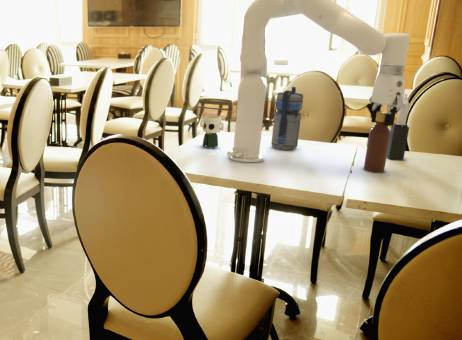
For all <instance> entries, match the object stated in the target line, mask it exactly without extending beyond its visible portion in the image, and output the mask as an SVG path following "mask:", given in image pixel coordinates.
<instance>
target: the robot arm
mask: <svg viewBox="0 0 462 340" xmlns="http://www.w3.org/2000/svg"><path fill="white" fill-rule="evenodd" d="M301 14H302V15H303V16H305V17H306V18H307V19H309V20H311V22H314V23H315V24H316V25H318V26H319V27H321V28H322V29H323V30H325V31H327V32H328V33H330V34H332V35H335V36H338V37H340V38H341V39H343V40H345V41H346V42H347V43H349V44H351V45H352V46H354V48H356V49H357V51H358V52H359V53H361V54H363V55H366V56H376V55H377V56H378V55H379V54H380V58H379V64H378V72H377V75H376V77H375V80H374V84H373V88H372V93H371V96H370V97H369V98H368V101H369V103H370V106H371V111H372V115H371V119H370V120H371V122H370V123H376V122H378V121H376V114H377V112H378V111H382V109H383V107H384V106H386V110H387V111H386V112H387V113H388V114H386V116H385V122H384V125H385V126H388V127H392V126H393V125H394V123H395V119H396V115H398V112H399V110H400V109H401V108H402V107H403V106H404V104H403V100H404V97H405V94H406V93H405V91H406V76H405V75H404V73H405V71H406V70H405V68H406V62H407V56H408V50H409V45H410V39H411V37H410V36H411V35H410V34H408V33H405V32H388V33H382V32H381V31H378V30H377V29H376V28H374V27H373V26H372V25H370V24H369V23H367V22H365V21H364V20H362V19H360V18H359V17H357V16H355V14H353V13H351V12H350V11H349V10H347V9H346V8H344V7H342V6H341V5H340V4H339V3H337V2H335V1H334V0H254V1H252V3H251V4H250V5H249V6H248V8H247V9H246V11H245V13H244V15H243V19H242V26H241V44H240V45H241V46H240V47H241V48H240V56H239V61H240V82H239V85H238V88H237V89H238V90H237V105H236V114H235V117H236V118H235V129H234V137H233V138H234V139H233V147H232V150H230V151H227V152H226V156H227V157H228V158H229V159H230V160H232V161H236V162H241V163H259V162H263V160H264V156H263V155H261V154H260V151H261V142H262V141H261V140H262V132H263V121H264V112H265V102H266V95H267V80H268V79H267V73H268V51H267V34H268V24H269V22H270V20H272V19H276V18H277V19H279V18H283V17H284V18H285V17H290V16H296V15H301Z"/></svg>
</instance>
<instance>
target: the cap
mask: <svg viewBox="0 0 462 340" xmlns="http://www.w3.org/2000/svg"><path fill="white" fill-rule="evenodd" d="M386 114H388V113H387V111H382V110H380V111H378V112H377V114H376V121H378V122H385V116H386Z"/></svg>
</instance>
